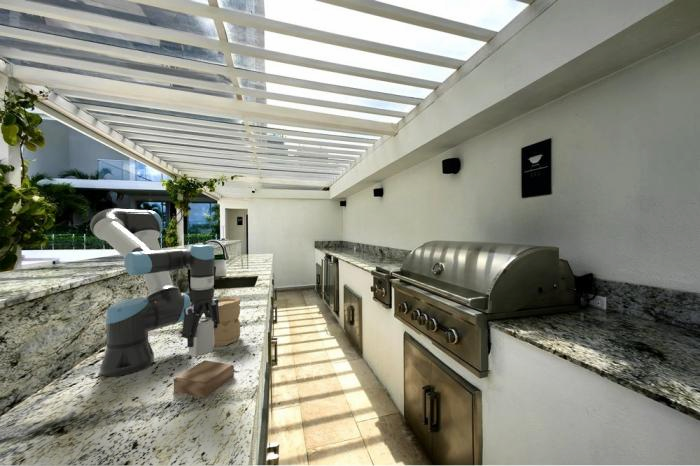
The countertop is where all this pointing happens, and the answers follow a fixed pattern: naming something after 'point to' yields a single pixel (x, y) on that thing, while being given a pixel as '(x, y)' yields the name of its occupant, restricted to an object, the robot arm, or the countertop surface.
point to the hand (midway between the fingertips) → (201, 349)
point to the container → (227, 321)
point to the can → (205, 336)
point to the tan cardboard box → (203, 378)
